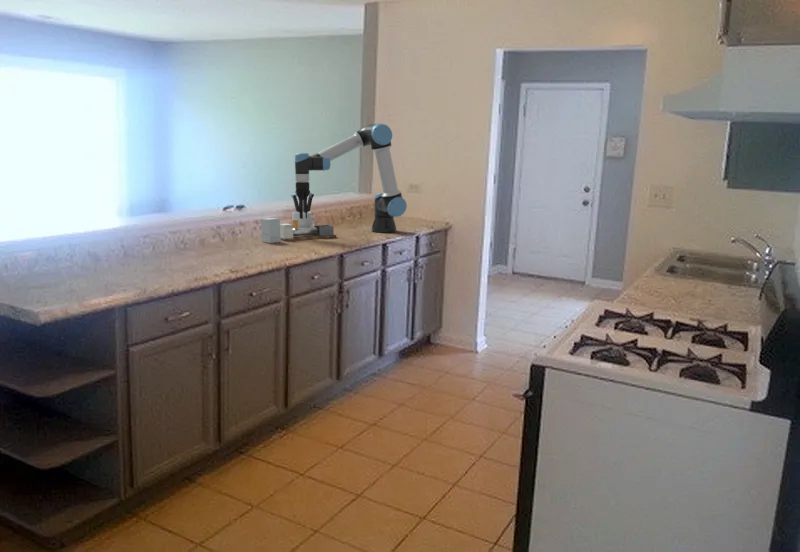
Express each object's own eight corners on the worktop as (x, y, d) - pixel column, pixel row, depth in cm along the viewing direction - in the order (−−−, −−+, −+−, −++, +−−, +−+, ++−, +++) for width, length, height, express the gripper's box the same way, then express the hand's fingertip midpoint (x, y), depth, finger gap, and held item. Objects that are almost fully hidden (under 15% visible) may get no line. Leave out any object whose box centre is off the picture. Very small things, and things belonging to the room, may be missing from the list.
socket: (287, 236, 375) (287, 223, 374) (293, 238, 369) (293, 224, 368) (278, 237, 372) (278, 223, 371) (284, 238, 366) (284, 225, 365)
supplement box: (281, 242, 363) (280, 218, 360) (269, 243, 358) (269, 219, 355) (272, 240, 368) (272, 217, 365) (261, 241, 363) (260, 218, 360)
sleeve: (327, 233, 389) (327, 224, 388) (333, 235, 384) (333, 226, 383) (314, 234, 384) (314, 225, 383) (319, 236, 379) (319, 227, 378)
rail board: (328, 235, 391) (328, 233, 391) (336, 237, 384) (336, 235, 383) (277, 239, 373) (277, 237, 373) (284, 241, 366) (284, 239, 366)
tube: (314, 234, 383) (313, 218, 381) (317, 235, 379) (317, 219, 378) (284, 236, 373) (284, 220, 371) (288, 237, 369) (287, 220, 368)
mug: (311, 232, 402) (310, 210, 399) (321, 234, 393) (320, 212, 391) (289, 234, 392) (288, 212, 390) (298, 236, 384) (298, 213, 382)
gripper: (309, 180, 377) (310, 222, 382) (288, 181, 370) (289, 224, 375) (316, 181, 371) (317, 224, 376) (294, 182, 364) (295, 225, 369)
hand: (303, 224), depth 375 cm, fingers closed
